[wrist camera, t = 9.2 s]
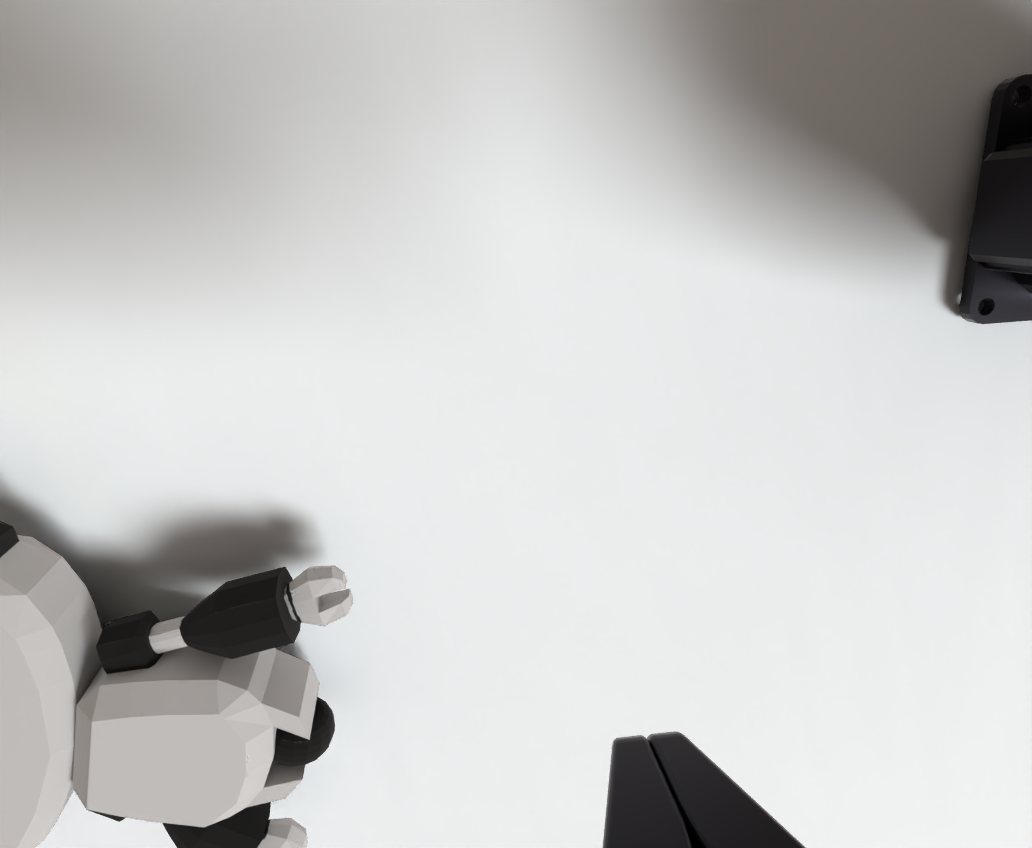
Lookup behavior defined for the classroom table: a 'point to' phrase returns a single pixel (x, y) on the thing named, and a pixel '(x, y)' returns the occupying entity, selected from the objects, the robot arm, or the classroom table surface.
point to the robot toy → (158, 704)
